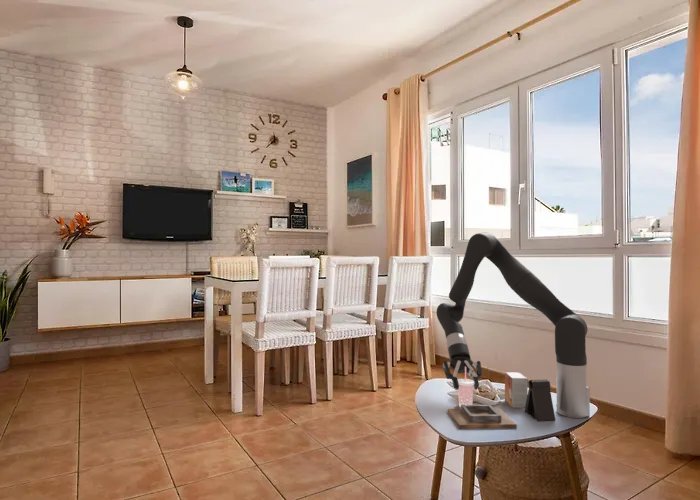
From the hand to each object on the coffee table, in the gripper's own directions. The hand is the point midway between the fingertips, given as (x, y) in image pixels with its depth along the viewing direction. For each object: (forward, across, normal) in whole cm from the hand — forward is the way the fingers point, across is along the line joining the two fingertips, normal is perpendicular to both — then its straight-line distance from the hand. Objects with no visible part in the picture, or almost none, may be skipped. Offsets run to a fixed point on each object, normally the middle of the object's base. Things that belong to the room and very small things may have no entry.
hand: (467, 388), depth 154 cm
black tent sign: (+11, +22, -1) cm, 25 cm away
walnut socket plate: (+13, +1, -3) cm, 13 cm away
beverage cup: (+4, 0, +6) cm, 7 cm away
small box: (+2, +19, +8) cm, 21 cm away
